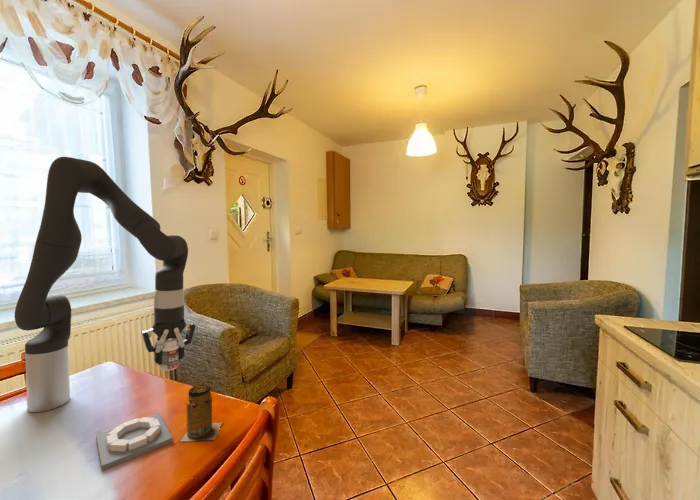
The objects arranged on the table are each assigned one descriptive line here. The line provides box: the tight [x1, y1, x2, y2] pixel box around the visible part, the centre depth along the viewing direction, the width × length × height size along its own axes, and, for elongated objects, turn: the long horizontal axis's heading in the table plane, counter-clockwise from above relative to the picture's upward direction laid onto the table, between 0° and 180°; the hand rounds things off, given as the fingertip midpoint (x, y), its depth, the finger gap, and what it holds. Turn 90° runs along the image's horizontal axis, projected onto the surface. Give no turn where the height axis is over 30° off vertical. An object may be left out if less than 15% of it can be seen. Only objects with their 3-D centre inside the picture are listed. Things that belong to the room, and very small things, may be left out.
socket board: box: [95, 413, 174, 472], centre depth 78 cm, size 14×14×3 cm
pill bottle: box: [159, 338, 180, 372], centre depth 90 cm, size 5×5×8 cm
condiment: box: [180, 383, 222, 442], centre depth 81 cm, size 7×8×12 cm
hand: (169, 361), depth 90 cm, fingers closed on pill bottle, 4 cm apart
